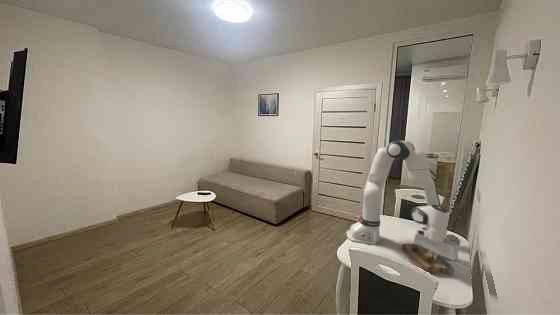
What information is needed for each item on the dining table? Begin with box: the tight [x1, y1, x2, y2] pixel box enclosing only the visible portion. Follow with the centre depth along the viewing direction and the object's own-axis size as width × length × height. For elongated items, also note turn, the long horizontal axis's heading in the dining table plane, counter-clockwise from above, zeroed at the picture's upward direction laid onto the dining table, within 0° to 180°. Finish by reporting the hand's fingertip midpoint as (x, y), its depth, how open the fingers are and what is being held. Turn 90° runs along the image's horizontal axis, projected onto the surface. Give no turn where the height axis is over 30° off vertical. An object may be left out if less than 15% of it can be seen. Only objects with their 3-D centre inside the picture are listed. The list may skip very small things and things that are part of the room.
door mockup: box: [401, 243, 455, 276], centre depth 123 cm, size 16×22×6 cm
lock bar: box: [423, 252, 436, 262], centre depth 121 cm, size 13×3×3 cm, turn 123°
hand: (433, 258), depth 118 cm, fingers closed
